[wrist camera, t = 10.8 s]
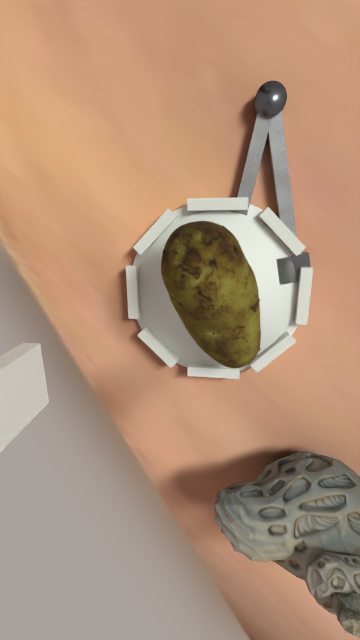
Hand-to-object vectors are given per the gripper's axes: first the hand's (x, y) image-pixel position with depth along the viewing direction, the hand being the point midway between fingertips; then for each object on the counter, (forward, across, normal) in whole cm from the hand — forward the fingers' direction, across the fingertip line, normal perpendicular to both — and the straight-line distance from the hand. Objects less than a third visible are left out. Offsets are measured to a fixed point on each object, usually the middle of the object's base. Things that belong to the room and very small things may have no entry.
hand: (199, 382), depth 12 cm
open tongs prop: (+20, +4, +8) cm, 22 cm away
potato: (+19, 0, 0) cm, 19 cm away
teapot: (+20, +11, -22) cm, 31 cm away
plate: (+20, 0, -1) cm, 20 cm away
